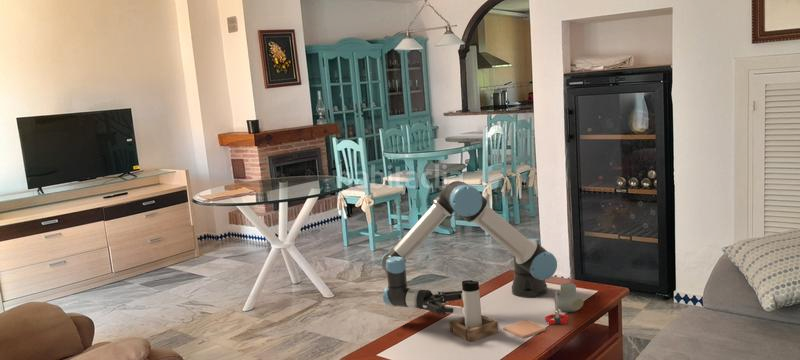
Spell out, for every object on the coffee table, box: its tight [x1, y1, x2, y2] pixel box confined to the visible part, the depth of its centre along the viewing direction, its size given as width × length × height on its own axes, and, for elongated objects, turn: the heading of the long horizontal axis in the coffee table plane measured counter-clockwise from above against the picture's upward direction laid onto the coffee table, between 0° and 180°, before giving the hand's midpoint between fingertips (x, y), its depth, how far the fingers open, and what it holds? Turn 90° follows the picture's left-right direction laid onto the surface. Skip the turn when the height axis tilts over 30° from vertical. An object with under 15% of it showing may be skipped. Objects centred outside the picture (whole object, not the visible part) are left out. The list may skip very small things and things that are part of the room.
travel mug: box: [461, 279, 482, 329], centre depth 238 cm, size 6×7×20 cm
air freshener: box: [557, 282, 584, 313], centre depth 253 cm, size 11×8×10 cm
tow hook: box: [545, 290, 569, 325], centre depth 243 cm, size 8×13×9 cm
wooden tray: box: [448, 314, 499, 343], centre depth 240 cm, size 13×13×4 cm
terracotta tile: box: [502, 319, 547, 339], centre depth 237 cm, size 11×11×1 cm
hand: (469, 304), depth 238 cm, fingers open, 13 cm apart
